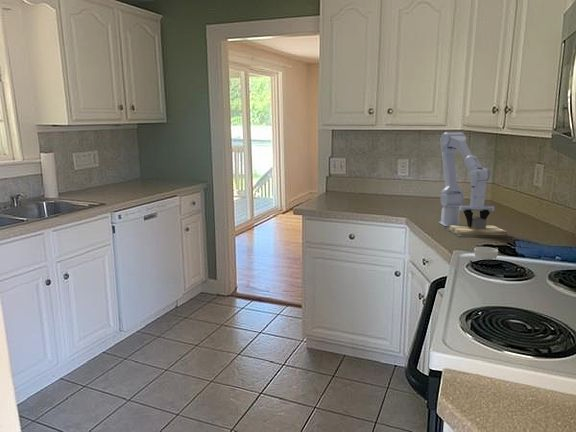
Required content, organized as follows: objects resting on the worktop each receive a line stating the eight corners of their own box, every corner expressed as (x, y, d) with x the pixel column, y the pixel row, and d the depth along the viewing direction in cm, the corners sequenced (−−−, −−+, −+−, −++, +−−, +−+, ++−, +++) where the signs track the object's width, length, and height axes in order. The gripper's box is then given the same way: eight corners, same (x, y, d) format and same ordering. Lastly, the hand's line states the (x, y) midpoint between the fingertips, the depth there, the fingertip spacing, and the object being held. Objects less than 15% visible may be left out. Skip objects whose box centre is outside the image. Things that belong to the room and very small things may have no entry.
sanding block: (466, 226, 196) (467, 216, 195) (476, 226, 196) (477, 216, 196) (475, 230, 188) (476, 220, 187) (485, 230, 189) (486, 220, 188)
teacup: (507, 266, 143) (508, 252, 142) (478, 267, 142) (479, 253, 141) (491, 258, 153) (492, 245, 152) (463, 258, 152) (464, 245, 151)
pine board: (444, 228, 202) (444, 224, 202) (494, 228, 202) (494, 224, 202) (458, 236, 185) (458, 232, 184) (513, 237, 184) (513, 232, 184)
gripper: (464, 197, 187) (462, 228, 189) (498, 197, 187) (495, 228, 189) (458, 195, 194) (456, 225, 196) (491, 195, 193) (488, 225, 196)
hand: (475, 226), depth 193 cm, fingers closed on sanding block, 5 cm apart
